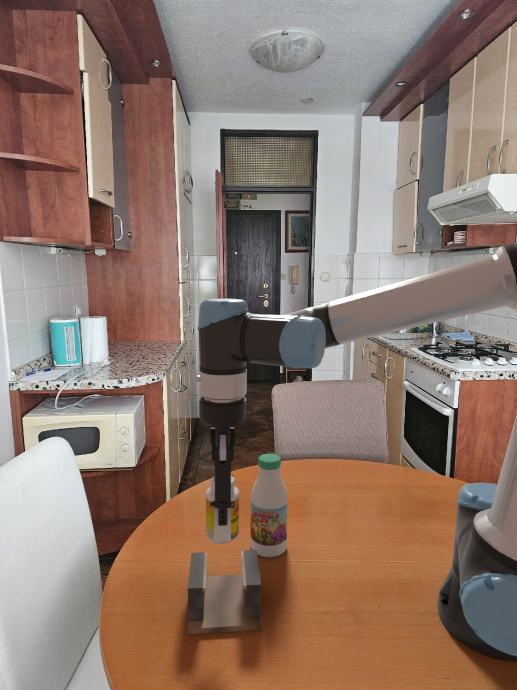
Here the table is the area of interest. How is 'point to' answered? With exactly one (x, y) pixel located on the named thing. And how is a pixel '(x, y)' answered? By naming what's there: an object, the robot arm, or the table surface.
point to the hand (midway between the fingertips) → (222, 528)
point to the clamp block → (224, 597)
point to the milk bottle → (269, 509)
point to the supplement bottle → (210, 511)
